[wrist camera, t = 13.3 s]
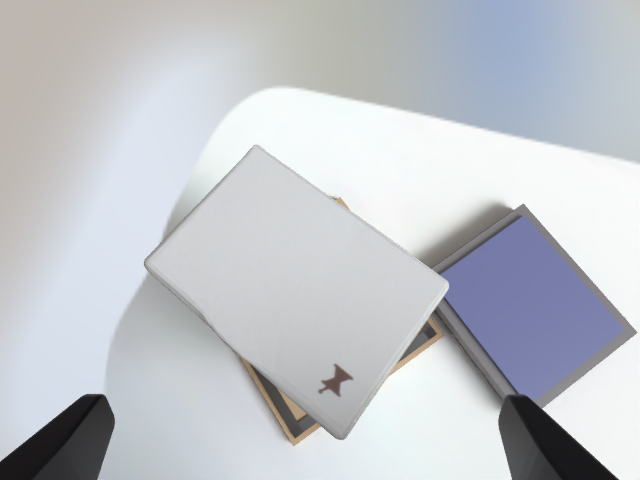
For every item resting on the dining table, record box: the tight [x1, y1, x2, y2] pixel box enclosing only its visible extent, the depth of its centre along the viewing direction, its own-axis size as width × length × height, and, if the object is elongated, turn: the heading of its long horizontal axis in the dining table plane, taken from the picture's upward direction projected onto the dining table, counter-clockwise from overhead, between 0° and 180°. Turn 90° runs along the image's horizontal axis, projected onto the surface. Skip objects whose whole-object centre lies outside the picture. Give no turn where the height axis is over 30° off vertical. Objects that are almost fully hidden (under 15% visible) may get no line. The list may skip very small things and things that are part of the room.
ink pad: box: [432, 204, 637, 409], centre depth 20 cm, size 7×8×1 cm
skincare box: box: [144, 145, 449, 440], centre depth 15 cm, size 6×4×12 cm
